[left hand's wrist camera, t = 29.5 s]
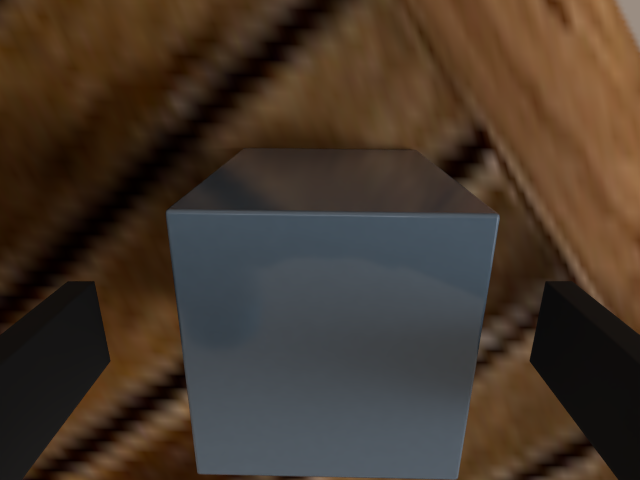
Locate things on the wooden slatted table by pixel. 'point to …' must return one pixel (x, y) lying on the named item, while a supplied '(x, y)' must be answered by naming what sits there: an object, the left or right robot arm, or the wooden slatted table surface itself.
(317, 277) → the brick
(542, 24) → the wooden slatted table surface
